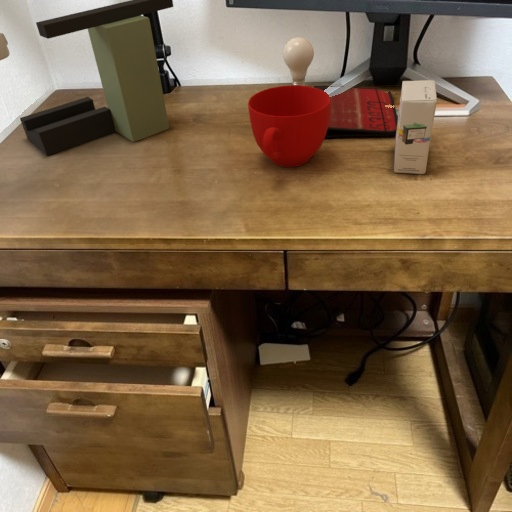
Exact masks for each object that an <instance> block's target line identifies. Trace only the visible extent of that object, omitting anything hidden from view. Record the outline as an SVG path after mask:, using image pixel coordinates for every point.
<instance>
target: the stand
mask: <svg viewBox="0 0 512 512" xmlns="http://www.w3.org/2000/svg"><path fill="white" fill-rule="evenodd" d="M87 33H88V37H89V41H90V44H91V48H92V51H93V56H94V61H95V63H96V67H97V70H98V75H99V78H100V82H101V86H102V91H103V94H104V99H105V101H106V105H107V106H106V107H107V108H109V109H110V111H111V115H112V119H113V122H114V126H115V130H116V132H117V133H118V134H119V135H121V136H123V137H125V139H127V140H129V141H131V142H132V143H135V142H137V141H141V140H143V139H145V138H149V137H151V136H154V135H157V134H159V133H162V132H164V131H166V130H170V124H169V118H168V113H167V108H166V101H165V97H164V91H163V86H162V80H161V74H160V69H159V64H158V58H157V53H156V48H155V43H154V37H153V31H152V25H151V21H150V18H149V17H148V16H144V15H140V16H136V17H132V18H128V19H124V20H120V21H116V22H112V23H108V24H104V25H100V26H96V27H92V28H88V29H87Z"/></svg>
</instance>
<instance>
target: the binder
mask: <svg viewBox="0 0 512 512" xmlns="http://www.w3.org/2000/svg"><path fill="white" fill-rule="evenodd" d="M329 86H330V85H313V86H312V87H314V88H317V89H320V90H322V91H324V90H325V89H327V88H328V87H329ZM353 87H354V88H352V89H350V90H348V91H346V92H343V93H341V94H338V95H335V96H332V97H330V100H331V108H330V118H329V124H328V129H327V133H326V136H325V138H343V137H344V138H345V137H346V138H347V137H373V136H374V137H375V136H376V137H386V136H396V131H397V122H398V114H397V109H396V106H395V107H394V108H393V107H392V108H390V107H389V108H388V107H385V105H389V104H390V105H392V106H393V105H395V101H394V97H393V94H392V92H390V91H391V90H390V91H389V92H388V93H385V92H383V91H380V90H377V89H378V88H380V89H381V88H382V87H360V86H353Z"/></svg>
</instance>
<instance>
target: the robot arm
mask: <svg viewBox="0 0 512 512" xmlns="http://www.w3.org/2000/svg"><path fill="white" fill-rule="evenodd" d="M8 44H9V42H8V40H7V38H6V35H5V34H4V33H2V32H0V61H2V60H5V59H7V58H8V57H9V56H10V50H9V47H8Z"/></svg>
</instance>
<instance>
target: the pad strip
mask: <svg viewBox="0 0 512 512" xmlns="http://www.w3.org/2000/svg"><path fill="white" fill-rule="evenodd" d="M171 8H174V1H173V0H127V1H122V2H118V3H114V4H109V5H104V6H100V7H97V8H93V9H87V10H83V11H80V12H76V13H71V14H67V15H66V14H65V15H63V16H58V17H54V18H50V19H44V20H41V21H36V22H35V24H36V27H37V31H38V33H39V36H40V37H43V38H45V39H47V40H48V39H52V38H58V37H61V36H65V35H68V34H69V35H70V34H72V33H77V32H80V31H84V30H88V28H92V27H96V26H100V25H104V24H108V23H112V22H116V21H120V20H124V19H128V18H132V17H136V16H140V15H141V16H144V15H147V14H151V13H156V12H159V11H162V10H163V11H164V10H167V9H171Z"/></svg>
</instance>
